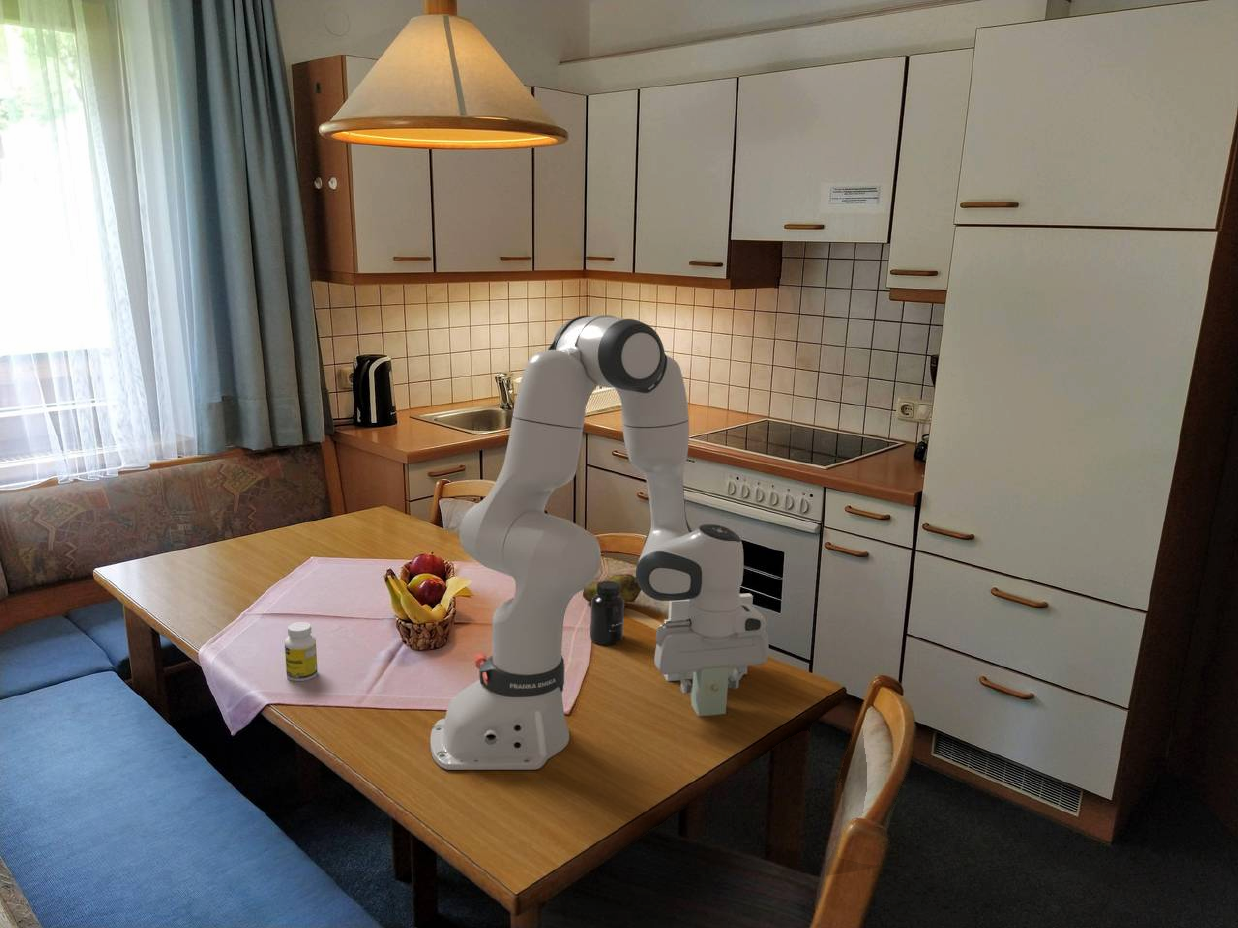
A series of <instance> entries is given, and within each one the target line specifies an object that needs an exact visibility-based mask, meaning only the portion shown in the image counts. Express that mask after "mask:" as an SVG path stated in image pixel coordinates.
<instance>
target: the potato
mask: <svg viewBox="0 0 1238 928" xmlns="http://www.w3.org/2000/svg"><path fill="white" fill-rule="evenodd" d="M601 581H602V580H601ZM601 581H596V582H591V583H590V584H589V585H588V586H587V587H586V588H585V589H583V590H582V597H583V598H584V600H585V601H587V602H588V603H590V604H591V600H592V598H593V597H594V596H595V595H596V594H597V593H596V589H597V584H598V583H599V582H601ZM604 581H614V582H617V583H619V584H620V596H621V597H622V598H623V600H624V604H625V603H626V604H627V603H635V601H636V600H637V598H638V597H639V595H640V593H641V591H642V590H641V589H640V587H639V585H638V583H637V580H636V576H634V575H633V574H629V573H624V574H616V575H612V576H610V577H609V578H607V579H605V580H604Z"/></svg>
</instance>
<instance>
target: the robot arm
mask: <svg viewBox="0 0 1238 928" xmlns="http://www.w3.org/2000/svg"><path fill="white" fill-rule="evenodd" d="M518 385H519V386H518V389H517V393H516V396H515V402H514V405H513V411H512V417H511V423H510V429H509V433H508V434H509V436H508V441H507V445H506V451H505V456H504V461H503V464H502V467H501V470H500V473H499V475H498V477H497V480H496V481H495V483H494V485H493V487H492V488H491V490H489V492H488V494H487V495H486V496H485V497H484V498H483V499H482V500H480V501H479V502H477V503H476V504H474V505H473V506H471V508H469V509H468V510H467V512H466V513H465V515H464V517H463V519H462V521H461V524H460V528H459V542H460V545H461V547H462V549H463V551H464V552H465V553H466V554H467V555H468V556H470V558H472V559H473V560H475V561H476V562H477V563H479V564H481V565H482V566H483V567H485V568H487V569H490V570H492V571H495V572H498V573H501V574H503V575H506V576H508V577H512V578H513V580H514V583H515V592H514V595H513V597H511V598H510V599H507V600H506V601H504V602H503V603H502V604H501V605H500V606H499V607H498V608H497V609H496V610H495V612H494V614H493V616H492V623H491V624H492V628H491V629H492V631H491V632H492V633H491V634H492V635H491V636H492V637H491V639H492V642H491V643H492V645H491V647H492V648H491V651H492V652H491V656H490V657H489V658H487V655H485V653H482V652H481V653H479V652H478V653H477V654H476V655H475V656H474V659H473V660H474V663H475V665H474V666H475V667H476V668H477V669H478V670H479V671H478V672H479V673H478V675H479V676H478V679H477V680H476V681H475V682H473V683H471V684H470V685H469V686H467V687H466V688H464V689H463V690H461V691H460V692H458V693H457V694H455V695H454V696H453V697H452V698H451V700H450V702H449V703H448V706H447V709H446V711H445V717H444V718H442V719H439V720H438V721H437V722H436V723H435V724H434V725H433V727H432V729H431V732H430V739H429V740H430V742H429V743H430V745H429V746H430V751H431V755H432V757H433V759H434V761H435V762H436V763H437V765H438V766H439V767H441V768H442V769H444V770H453V771H454V770H455V771H457V770H459V771H460V770H461V771H463V770H468V771H469V770H470V771H474V770H477V771H479V770H480V771H481V770H482V771H483V770H484V771H485V770H486V771H487V770H488V771H489V770H495V771H497V770H500V771H501V770H502V771H503V770H505V771H506V770H507V771H508V770H510V771H511V770H512V771H513V770H538V769H540V768H542V767H543V766H544V765H545V764H546V762H547V761H548V759H550V758H552V757H554V756H556V755H557V754H559V753H560V752H562V750H564V749H565V747H566V746H567V745H568V744H569V741H570V731H569V729H568V727H567V726H568V725H567V722H566V715H565V710H564V704H563V703H564V702H563V691H564V685H565V660H564V658H563V655H562V643H563V628H564V618H565V614H566V610H567V609H568V606H569V604H570V603H571V600H572V599H573V597H574V596H575V595H577V594H579V593H580V592H583V591H584V589H585V588H586V587H587V586H588V585H589V584H592V583H593V580H595V578H596V576H597V574H598V572H599V569H600V566H601V561H602V556H601V555H602V554H601V548H600V543H599V541H598V539H597V537H596V536H595V535H594V534H592V533H591V532H589V531H588V530H587V529H585V528H583V527H582V526H580V525H578V523H577V524H576V523H574V522H573V521H572V520H569V519H565V518H562V517H559V516H556V515H553V514H549V513H546V512H545V509H546V505H547V503H548V500H549V498H550V497H551V495H552V493H554V491H555V490H557V489H559V488H561V487H564V486H565V485H567V484H569V483H570V482H571V481H572V480H573V479H574V478H575V476H576V473H577V469H578V465H579V464H578V462H579V459H580V458H579V457H580V452H581V446H582V445H581V444H582V440H583V439H582V438H583V432H584V427H585V419H586V411H587V406H588V401H590V400H589V399H590V397H591V395H592V393H593V392H594V391H595V389H596V388H597V387H603V388H609V389H611V388H612V389H615V391H616V392H617V394H618V396H619V400H620V404H621V425H622V436H623V443H624V446H625V451H626V455H627V458H628V461H629V462H630V465H632V466H633V467H634V468H635V469H636V470H638V471H639V472H641V473H642V475H643V476H644V478H645V480H646V481H645V482H646V485H647V491H648V502H649V512H650V528H649V530H648V532H647V535H646V537H645V541H644V545H643V548H642V551H641V554H640V557H639V559H638V563H637V565H636V568H635V577H636V580H637V583H638V585H639V587H640V589H641V591H642V593H644V594H645V595H646V596H647V597H649V598H651V599H653V600H656V601H661V602H669V601H679V600H688V599H689V600H690V601H689V616H688V619H686V620H678V621H666V622H665V623H664V622H663V624H661V625H659V626H658V627H657V628H656V630H655V631H656V632H655V642H656V646H655V651H654V665H655V667H656V669H657V670H658V672H659V673H661V674H662V675H663V674H664V675H665V674H675V673H676V675H677V676H678V678H679V680H678V681H680V692H681V693H682V694H683V695H687V694H691V693H692V691H691V690H692V686H693V683H691V681H690V679H686V680H684V678H683V677H687V672H695V671H700V669H701V668H705V667H716V666H726V665H728V666H729V668H734V667H735V668H736V669H735V670H734V672H733V674H732V675H729V676H728V689H730V690H732V689H734V690H735V689H738V688H739V681H740V680H741V679H742V677H743V675H745V674H744V673H745V671H746V666H747V667H750V666H753V667H754V666H761V665H764V664H765V663H766V662H767V660H768V659H769V636H768V633H767V631H766V630H765V629H766V627H767V620H766V619H765V617H764V616H763V614H761V612H760V611H759V610H757V609H756V608H755V607H754V606H753V605H752V606H751V605H748V604H744V603H741V599H740V595H739V594H740V589H741V586H742V583H743V576H744V548H743V543H742V540H741V537H740V536H739V535H738V534H737V533H736V532H735V531H733V530H732V529H730V528H728V527H726V526H723V525H719V524H715V523H714V524H713V523H709V524H708V523H707V524H705V523H704V524H701V525H700V526H698V528H696V529H694V530H693V531H692V529H691V527H690V525H689V522H688V520H687V516H686V505H685V504H686V503H685V502H686V501H685V494H684V493H685V492H684V491H685V490H684V481H683V477H684V476H683V475H684V470H685V466H686V462H687V459H688V453H689V445H690V444H689V443H690V418H689V417H690V416H689V407H688V399H687V398H688V397H687V393H686V387H685V382H684V378H683V374H682V370H681V368H680V365H679V362H677V361H676V360H675V359H674V358H672V357H671V356H668V355H666V352H665V348H664V344H663V342H662V340H661V337H660V336H659V335H658V333H657V332H656V331H655V329H653V328H652V327H651V326H650V325H648V324H647V323H644V322H642V321H640V320H637V319H633V318H624V317H623V318H622V317H617V316H614V315H610V314H609V315H607V314H605V315H604V314H603V315H602V314H599V315H580V316H577V317H573V318H572V319H570V320H568V321H567V322H566V323H564V324H563V325H562V326H561V328H559V330H558V331H557V333H556V335H555V337H554V339H553V342H552V344H551V345H550V346H549V347H548V349H547V350H542V351H539V352H537V353H535V354H533V355H532V356H531V357H530V358H529V359H528V360H527V363H526V366H525V367H524V370H523V373H522V376H521V379H520V382H519V384H518ZM664 626H665V627H664ZM664 675H663V676H664Z"/></svg>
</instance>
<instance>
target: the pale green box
mask: <svg viewBox="0 0 1238 928" xmlns="http://www.w3.org/2000/svg"><path fill="white" fill-rule="evenodd" d="M728 675H729V666H728V665H726V666H716V667H705V668H701V669H700V671H695V672H693V679H692V689H691V691H692V693H690V701H691V704H690V705H691V707H692V708H693V710H694V711H695V713H696V714H697V716H698V717H711V716H718V715H726V714H727V701H728V689H729V687H728ZM729 676H730V675H729Z"/></svg>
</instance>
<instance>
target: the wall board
mask: <svg viewBox="0 0 1238 928" xmlns="http://www.w3.org/2000/svg"><path fill="white" fill-rule="evenodd" d="M739 595H740V599H741V603H744V604H748V605H751V606H752V607H753V599H754V595H752V594H751V593H749V592H748V593H739ZM689 601H690V600H689V599H688V600H679V601H668V602H669V603H668V604H669V605H668V618H667V619H663V624H664V623H665V622H666V621H678V620H686V619H688V616H689ZM663 627H665V626H663ZM735 669H736V668H735V667H734V668H729V675H728V676H732V674H733V672H734V670H735ZM747 674H748V666H746V671H745V673H744V674H743V675H747ZM662 675H663V676H664V678H665V680H666V681H667V682H673V681H680V680H679V678H678V676H677V675H676V673H675V674H665V675H664V674H662ZM683 678H684V680H685V681H686V680H693V672H687V677H683Z"/></svg>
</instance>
